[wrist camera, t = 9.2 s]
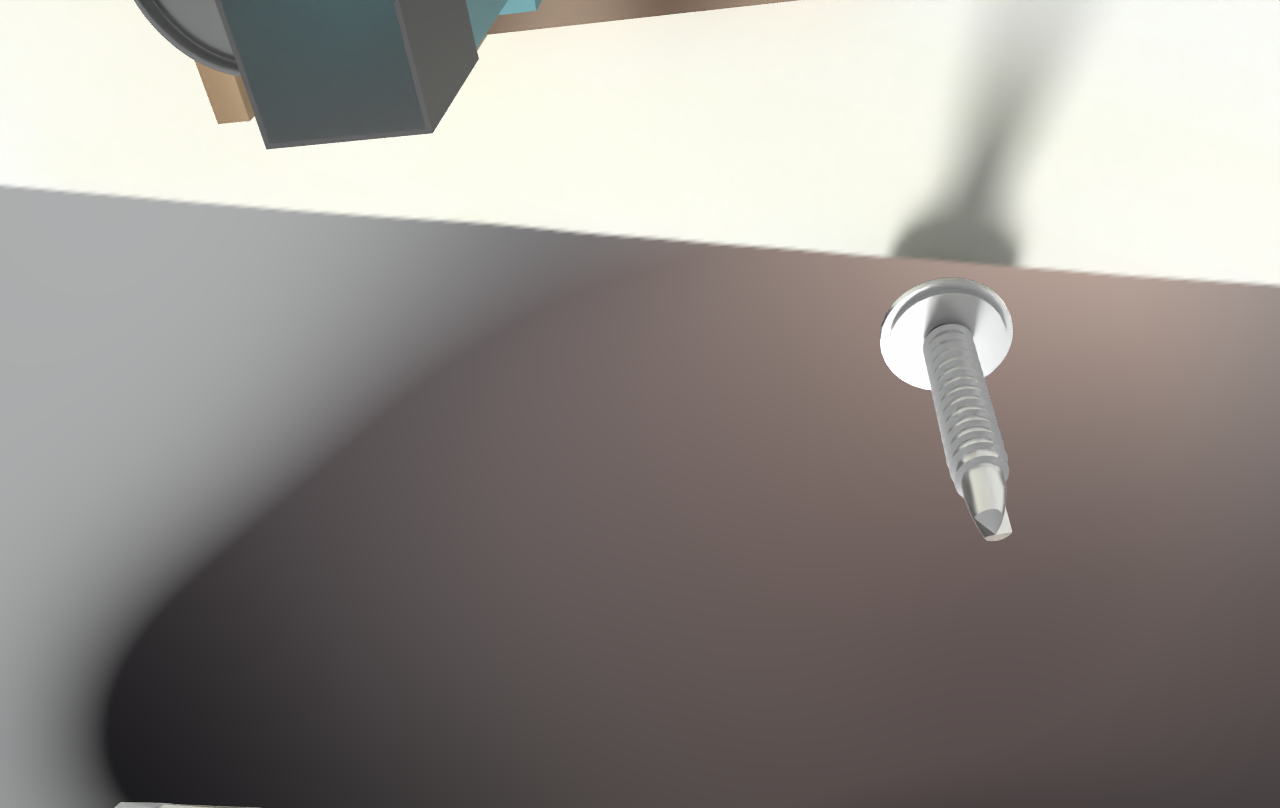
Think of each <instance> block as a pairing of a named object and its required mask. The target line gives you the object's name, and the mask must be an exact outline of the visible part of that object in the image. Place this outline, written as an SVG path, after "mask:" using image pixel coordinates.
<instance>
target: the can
mask: <svg viewBox="0 0 1280 808" xmlns="http://www.w3.org/2000/svg"><path fill="white" fill-rule="evenodd" d="M134 1H135V2H136V4H137V6H138V7H139V9H140V10H141V11H142V13H143V14H144V15H145V17H146V18H147V19H148V21H149V22H150V23H151V24H152V25H153V26H154V27H155V29H156V30H157V31H158V32H159V33H160V34H161V35H162V36H163V37H164V38H165V39H167V40H168V41H169V42H170V43H171V44H172V45H174V46H175V47H176V48H177V49H179V50H180V51H181V52H183V53H184V54H186V55H187V56H189V57H190V58H192V59H194V60H195V61H197V62H199V63H201V64H203V65H205V66H207V67H209V68H212V69H214V70H217V71H220V72H223V73H226V74H230V75H234V76H239V77H241V75H240V72H239V69H238V66H237V63H236V60H235V57H234V54H233V52H232V49H231V46H230V43H229V40H228V37H227V34H226V31H225V29H224V26H223V23H222V20H221V17H220V14H219V11H218V8H217V6H216V3H215V0H134Z"/></svg>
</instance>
